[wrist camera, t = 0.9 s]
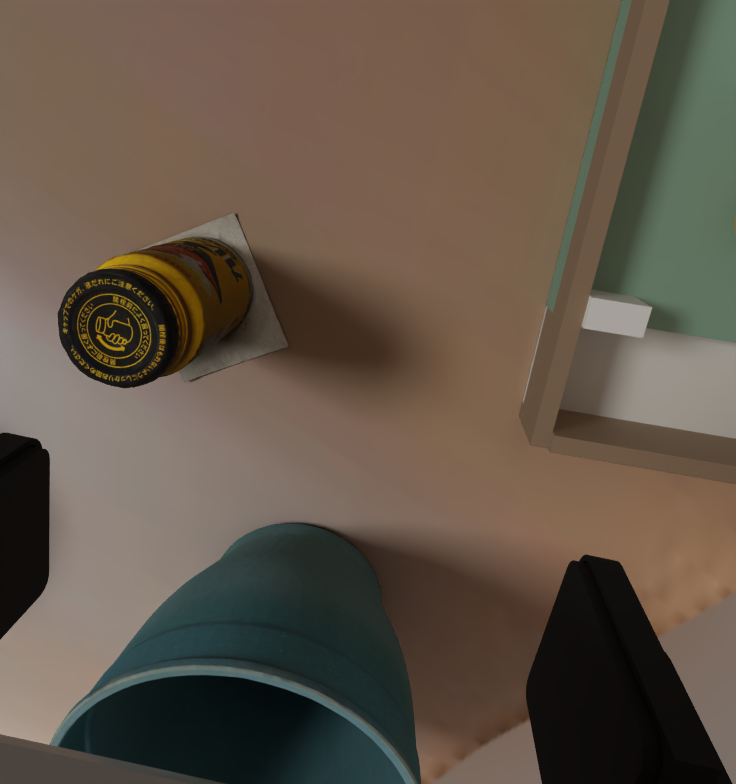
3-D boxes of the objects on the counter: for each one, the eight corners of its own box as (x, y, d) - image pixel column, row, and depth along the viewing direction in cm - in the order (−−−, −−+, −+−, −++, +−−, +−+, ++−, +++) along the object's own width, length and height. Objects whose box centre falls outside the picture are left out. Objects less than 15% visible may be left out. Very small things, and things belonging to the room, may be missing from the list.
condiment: (234, 212, 36) (147, 229, 25) (289, 345, 39) (232, 416, 27) (127, 254, 38) (-2, 288, 26) (186, 380, 40) (91, 461, 29)
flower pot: (425, 478, 41) (424, 674, 25) (431, 694, 46) (432, 966, 31) (160, 479, 42) (-1, 663, 27) (197, 687, 48) (84, 940, 32)
